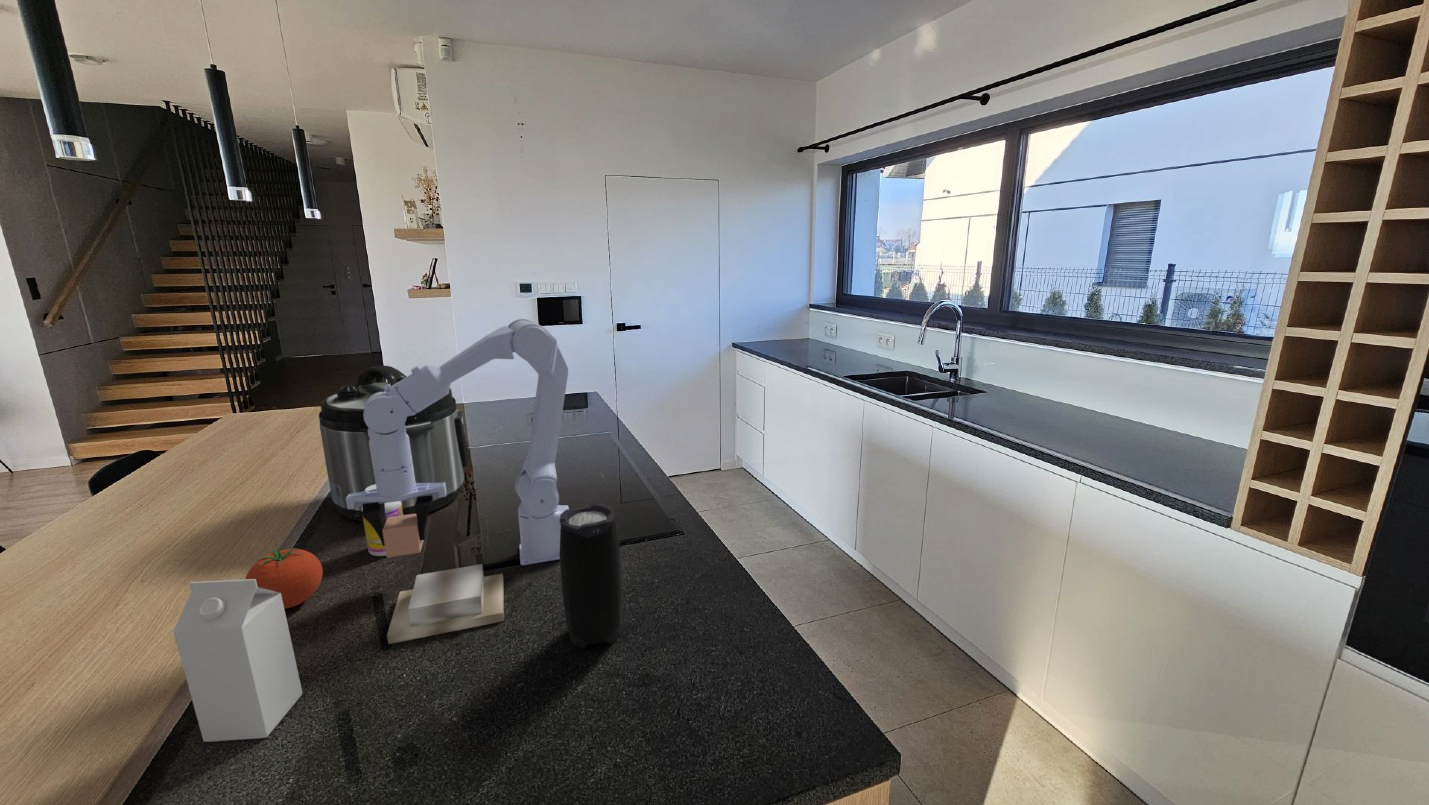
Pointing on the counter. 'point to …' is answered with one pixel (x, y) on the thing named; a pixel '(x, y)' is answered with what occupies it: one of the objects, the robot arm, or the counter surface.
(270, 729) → the milk carton
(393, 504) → the supplement bottle
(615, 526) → the portable speaker
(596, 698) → the counter surface
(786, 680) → the counter surface
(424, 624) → the base
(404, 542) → the cube
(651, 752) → the counter surface
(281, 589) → the tomato
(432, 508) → the pressure cooker
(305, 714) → the counter surface
